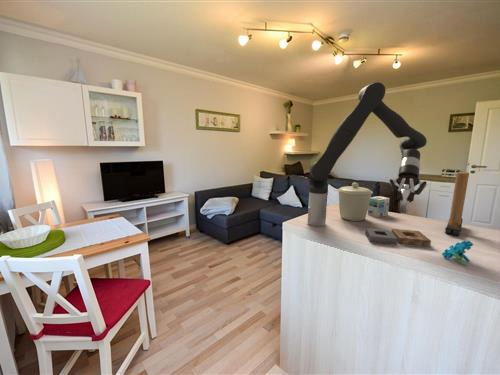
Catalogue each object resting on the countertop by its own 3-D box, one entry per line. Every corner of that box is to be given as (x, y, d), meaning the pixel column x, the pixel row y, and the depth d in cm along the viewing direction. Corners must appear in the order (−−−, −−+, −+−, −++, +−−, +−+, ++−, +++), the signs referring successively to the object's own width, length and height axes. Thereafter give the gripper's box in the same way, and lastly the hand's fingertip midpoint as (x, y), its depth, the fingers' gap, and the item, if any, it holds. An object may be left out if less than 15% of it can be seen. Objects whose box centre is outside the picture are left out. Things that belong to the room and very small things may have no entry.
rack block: (399, 244, 94) (400, 237, 93) (390, 234, 104) (391, 228, 104) (429, 247, 91) (430, 240, 90) (418, 237, 101) (418, 231, 101)
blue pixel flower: (442, 246, 88) (470, 235, 81) (455, 259, 86) (484, 249, 79) (438, 259, 81) (468, 248, 74) (451, 274, 79) (484, 264, 72)
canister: (376, 223, 119) (380, 185, 116) (342, 223, 120) (345, 185, 116) (360, 214, 137) (363, 180, 133) (331, 213, 137) (333, 180, 134)
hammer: (458, 241, 102) (468, 179, 93) (443, 238, 105) (452, 178, 96) (462, 224, 115) (472, 167, 106) (449, 221, 118) (457, 167, 109)
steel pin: (400, 212, 95) (403, 185, 93) (398, 210, 98) (400, 183, 96) (409, 213, 94) (412, 185, 92) (406, 211, 97) (409, 184, 95)
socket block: (370, 242, 96) (370, 236, 95) (365, 234, 105) (365, 228, 105) (396, 245, 93) (397, 238, 92) (388, 236, 102) (389, 230, 102)
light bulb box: (377, 217, 130) (379, 199, 128) (366, 214, 136) (368, 197, 134) (388, 215, 135) (390, 197, 133) (377, 212, 141) (379, 195, 139)
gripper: (390, 163, 102) (385, 193, 95) (429, 164, 94) (427, 197, 86) (390, 173, 107) (385, 203, 100) (428, 175, 99) (425, 207, 92)
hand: (404, 200), depth 93 cm, fingers closed on steel pin, 3 cm apart
